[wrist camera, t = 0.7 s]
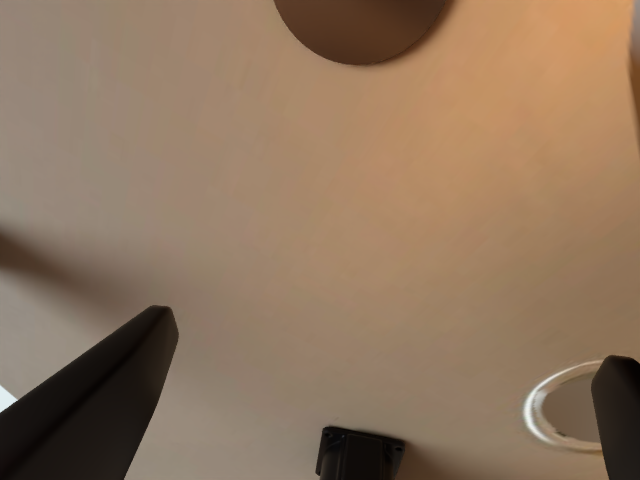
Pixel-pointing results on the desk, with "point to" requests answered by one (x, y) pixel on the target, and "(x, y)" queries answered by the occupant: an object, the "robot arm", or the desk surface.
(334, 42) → the coaster
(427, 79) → the desk surface
